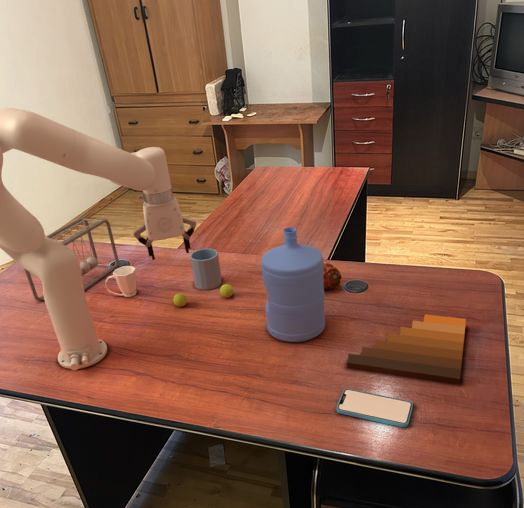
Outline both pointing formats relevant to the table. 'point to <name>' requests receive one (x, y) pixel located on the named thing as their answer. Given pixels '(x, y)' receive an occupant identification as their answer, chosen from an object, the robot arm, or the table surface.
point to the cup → (125, 280)
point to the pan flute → (418, 351)
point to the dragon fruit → (331, 276)
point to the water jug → (294, 290)
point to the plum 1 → (180, 299)
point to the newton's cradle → (91, 260)
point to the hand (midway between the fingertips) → (170, 254)
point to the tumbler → (206, 269)
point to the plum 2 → (226, 290)
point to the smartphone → (375, 407)
